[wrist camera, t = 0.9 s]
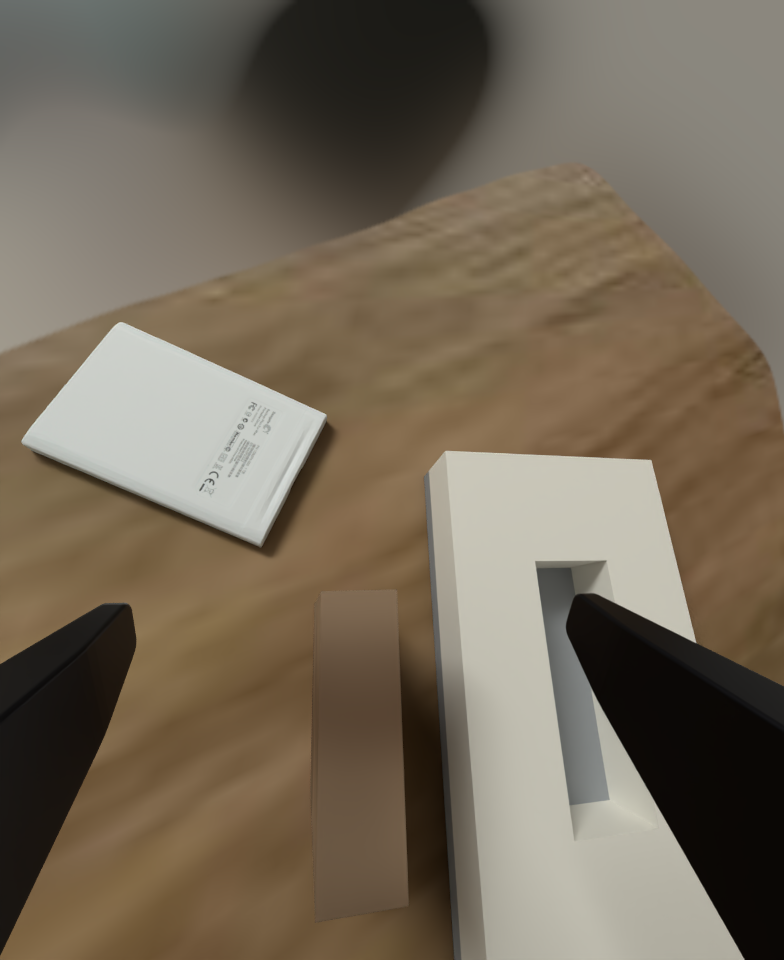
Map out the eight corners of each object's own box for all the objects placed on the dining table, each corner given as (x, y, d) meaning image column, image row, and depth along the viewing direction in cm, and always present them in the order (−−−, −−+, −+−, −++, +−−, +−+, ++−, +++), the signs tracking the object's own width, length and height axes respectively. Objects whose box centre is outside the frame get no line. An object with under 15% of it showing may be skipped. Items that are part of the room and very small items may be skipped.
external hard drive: (130, 336, 24) (326, 424, 25) (37, 454, 22) (262, 550, 22) (119, 318, 23) (328, 412, 24) (17, 442, 20) (259, 545, 21)
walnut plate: (363, 783, 19) (408, 906, 11) (310, 789, 19) (314, 922, 10) (361, 602, 22) (396, 589, 13) (314, 603, 21) (321, 591, 13)
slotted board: (692, 917, 20) (780, 984, 16) (454, 967, 18) (494, 1059, 14) (603, 482, 27) (651, 460, 23) (424, 476, 25) (445, 451, 21)
